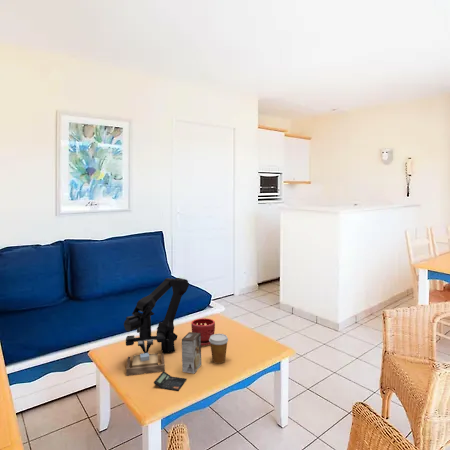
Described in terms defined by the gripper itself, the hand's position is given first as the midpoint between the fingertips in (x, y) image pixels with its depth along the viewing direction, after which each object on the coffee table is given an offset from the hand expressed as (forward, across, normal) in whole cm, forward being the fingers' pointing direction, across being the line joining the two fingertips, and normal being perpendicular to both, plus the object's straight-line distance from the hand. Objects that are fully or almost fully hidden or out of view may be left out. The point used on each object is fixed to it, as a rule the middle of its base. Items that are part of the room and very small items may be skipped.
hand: (146, 355), depth 177 cm
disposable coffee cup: (+3, -36, +8) cm, 37 cm away
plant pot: (+3, -31, -14) cm, 34 cm away
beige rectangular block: (+3, 0, +6) cm, 7 cm away
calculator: (+3, -11, +24) cm, 27 cm away
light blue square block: (-1, 0, +6) cm, 6 cm away
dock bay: (+2, 0, +6) cm, 7 cm away
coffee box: (+3, -22, +13) cm, 25 cm away
